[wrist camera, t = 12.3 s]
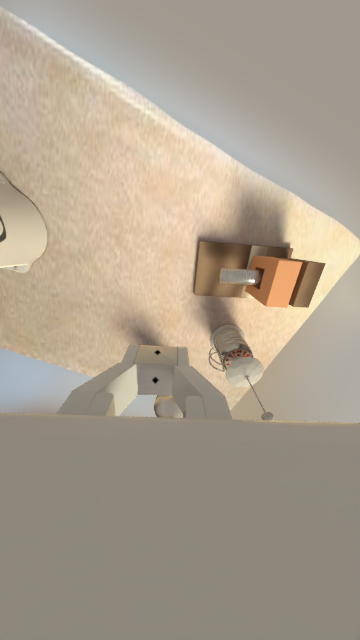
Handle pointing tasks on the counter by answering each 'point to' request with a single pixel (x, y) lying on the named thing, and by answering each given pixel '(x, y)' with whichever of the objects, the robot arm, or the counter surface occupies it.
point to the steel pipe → (240, 276)
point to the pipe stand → (241, 258)
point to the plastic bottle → (166, 407)
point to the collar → (274, 280)
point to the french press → (237, 359)
